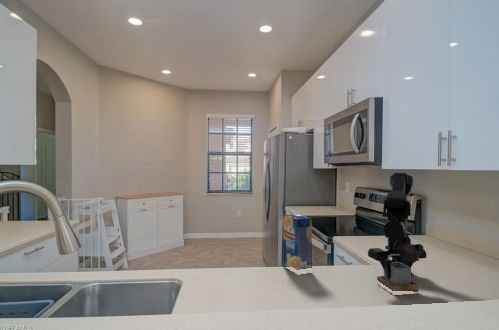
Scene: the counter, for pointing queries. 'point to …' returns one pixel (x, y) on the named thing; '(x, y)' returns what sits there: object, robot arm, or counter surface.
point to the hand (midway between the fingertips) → (397, 278)
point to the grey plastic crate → (399, 274)
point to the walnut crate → (412, 287)
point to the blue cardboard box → (297, 241)
